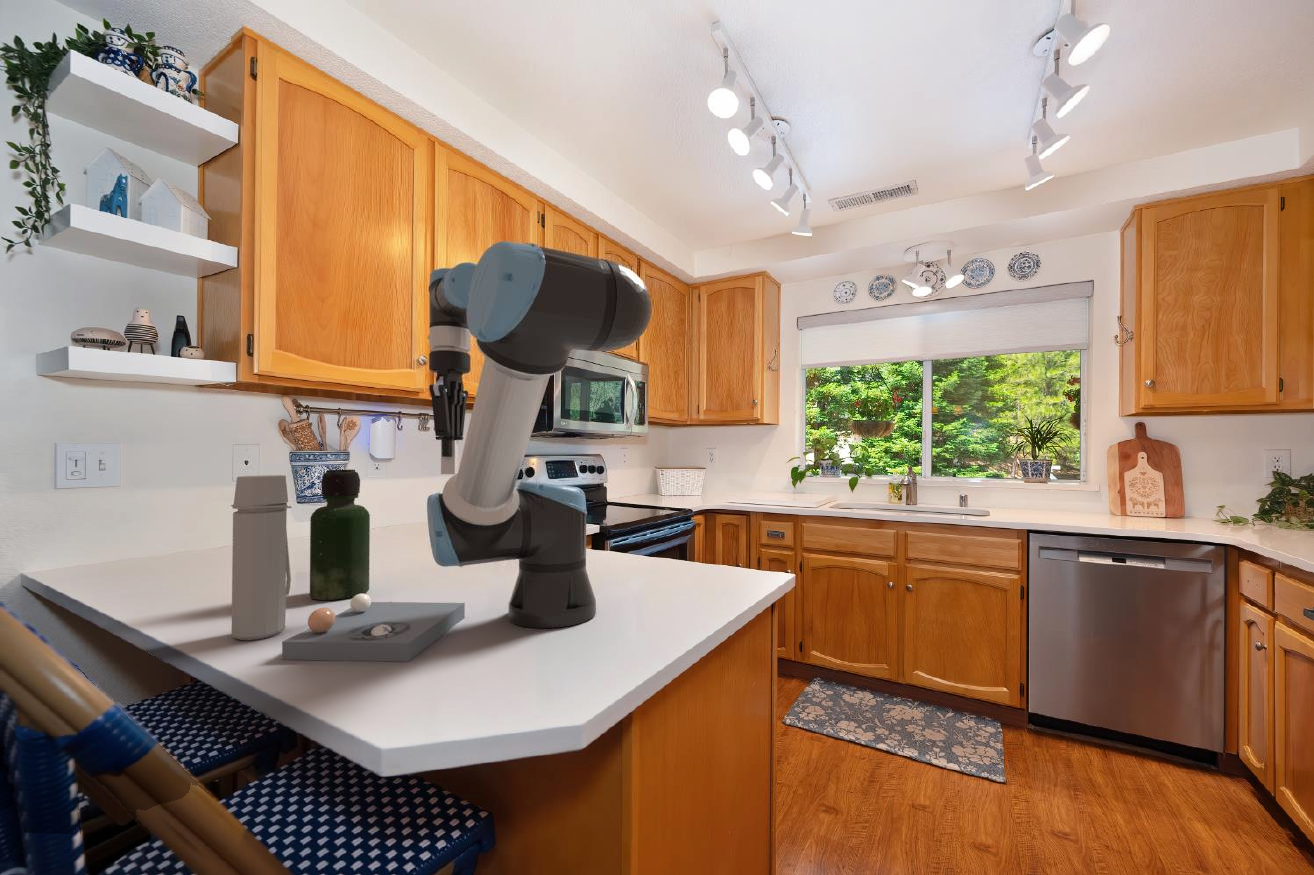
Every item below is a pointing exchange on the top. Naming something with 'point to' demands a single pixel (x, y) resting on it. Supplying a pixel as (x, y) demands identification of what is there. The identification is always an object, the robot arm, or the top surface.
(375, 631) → the steel ball
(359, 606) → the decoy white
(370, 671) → the top surface
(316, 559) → the green bottle
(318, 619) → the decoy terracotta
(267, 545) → the water bottle
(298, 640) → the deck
